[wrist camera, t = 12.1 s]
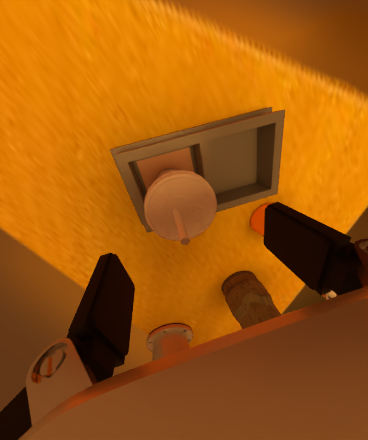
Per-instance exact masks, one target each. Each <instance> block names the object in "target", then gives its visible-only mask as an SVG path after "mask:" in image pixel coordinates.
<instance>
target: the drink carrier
mask: <svg viewBox="0 0 368 440" xmlns="http://www.w3.org/2000/svg"><path fill="white" fill-rule="evenodd" d="M284 116H285V110H280V111H275V112H272V107H269V108H265V109H261V110H257V111H254V112H250V113H246V114H242V115H238V116H235V117H231V118H227V119H223V120H220V121H216V122H212V123H208V124H204V125H201V126H197V127H193V128H189V129H185V130H182V131H178V132H174V133H170V134H167V135H163V136H159V137H155V138H151V139H148V140H144V141H140V142H136V143H132V144H129V145H125V146H121V147H117V148H114V149H110V151H111V153H112V156H113V158H114V160H115V163H116V165H117V167H118V170H119V172H120V174H121V177H122V179H123V181H124V183H125V186H126V188H127V190H128V193H129V195H130V197H131V200H132V202H133V204H134V207H135V209H136V211H137V214H138V216H139V218H140V220H141V223H142V225H144V226H145V229H146V231H147V233H148V232H151V231H153V230H152V229H151V228H150V226H149V225H148V223H147V221H146V218H145V212H144V202H145V196H146V194H147V191H148V189H149V188H150V186H151V185H152V184H153V183H154V181H156V180H157V177H158V175H159V174H160V172H161V171H163V170H164V169H167V168H173V169H176V170H179V171H181V170H184V171H190V172H194V173H196V174H198V175H200V176H201V177H203V178H204V179H205V180H206V181H207V182H208V183H209V185H210V186H211V187H212V189H213V191H214V193H215V196H216V200H217V209H216V212H218V211H221V210H225V209H228V208H232V207H235V206H238V205H242V204H245V203H248V202H252V201H255V200H258V199H262V198H265V197H268V196H272V195H275V194H277V193H278V182H279V171H280V160H281V149H282V138H283V127H284Z"/></svg>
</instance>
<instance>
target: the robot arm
mask: <svg viewBox="0 0 368 440" xmlns="http://www.w3.org/2000/svg"><path fill="white" fill-rule="evenodd" d="M350 239H351V237H349V236H347V235H345V234H343V233H341V232H339V231H337V230H335V229H333V228H331V227H329V226H327V225H325V224H323V223H321V222H318V221H316V220H314V219H312V218H310V217H308V216H306V215H304V214H302V213H300V212H298V211H296V210H294V209H292V208H290V207H288V206H286V205H284V204H282V203H279V202H276V203H272V204H269V205H267V208H265V217H264V245H265V247H266V248H267V249H268V250H270V251H271V252H272V253H273V254H274V255H275V256H276V257H277V258H278V259H279V260H280V261H281V262H282V263H284V264H285V265H286V266H287V267H288V268H289V269H290V270H291V271H292V272H293V273H294V274H295V275H296V276H298V277H299V278H300V279H301V280H302V281H303V282H304V283H305V284H306V285H307V286H308V287H309V288H311V289H312V290H316V291H317V292H318V293H319V294H320V295H323V294H326V293H329V292H331V290H332V291H333V292H335V293H336V297H333V298H330V299H327V300H325V301H322V302H319V303H316V304H313V305H310V306H307V307H304V308H301V309H299V310H296V311H293V312H290V313H287V314H285V315H281V316H278V317H276V318H273V319H270V320H267V321H264V322H261V323H259V324H256V325H253V326H250V327H247V328H244V329H242V330H239V331H236V332H233V333H230V334H227V335H225V336H222V337H219V338H216V339H213V340H210V341H208V342H205V343H202V344H199V345H197V346H194V347H191V348H189V343H190V341H191V340H192V338H193V333H192V330H191V328H190V327H188V326H186V325H183V324H171V325H166V326H163V327H160V328H158V329H156V330H155V331H153V332H152V333H151V334H150V335H149V336H148V338H147V348H148V349H149V350H150V351H152V352H153V361H152V362H149V363H147V364H144V365H141V366H139V367H136V368H134V369H131V370H128V371H126V372H123V373H120V374H118V375H115V376H112V375H113V371H114V368H115V367H118V366H121V365H123V364H124V360H125V355H127V354H128V350H129V341H130V331H131V330H130V329H131V321H132V312H133V302H134V292H135V287H134V284H133V282H132V280H131V278H130V277H129V275H128V273H127V272H126V270H125V268H124V267H123V265H122V263H121V261H120V260H119V258H118V256H117V255H116V254H114V255H113V253H108V254H105V255H102V256H100V258H99V260H98V263H97V265H96V267H95V270H94V272H93V274H92V277H91V279H90V281H89V284H88V286H87V288H86V291H85V293H84V295H83V298H82V300H81V302H80V305H79V307H78V309H77V312H76V314H75V317H74V319H73V321H72V323H71V326H70V328H69V333H68V335H67V337H66V338H62V339H58V340H57V341H55V342H53V343H51V344H50V345H49V346H48V347H46V348H45V349H44V350H43V351H42V352H41V353H40V354H39V356H38V357H37V358H36V360H35V361H34V363H33V364H32V366H31V367H30V369H29V372H28V374H27V377H26V387H25V388H24V389H23V390H22V391H21V392H20V393H19V394H18V395H17V396H16V397H15V398H14V399H13V400H12V401H11V402H10V403H9V404H8V405H7V406H6V407H5V408H4V409H3V410H2V411H1V412H0V440H368V238H367V239H366V238H365V239H359V240H357V241H355V243H354V244H352V243H350Z"/></svg>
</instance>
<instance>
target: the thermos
mask: <svg viewBox="0 0 368 440" xmlns="http://www.w3.org/2000/svg"><path fill="white" fill-rule="evenodd" d="M222 291H223V293H224V295H225V297H226V301H227V303H228V306H229V308H230V310H231V312H232V314H233V316H234V317H235V318H236V320H237V321H238V322H239V323H240V325H241V327H242V329H244V328H247V327H250V326H253V325H256V324H259V323H261V322H264V321H267V320H270V319H273V318H276V317H278V316H281V314H280V312H279V311H278V309H277V308H276V307H275V305H274V304H273V301H272V298H271V296H270V294H269V293H268V291H267V290H266V289H265V287H264V286H263V285H262V283H261V282H260V281H258V280H257V278H256V277H255V275H254V274H253V273H252V272H249V271H240V272H237V273H234V274H232V275H231V276H229V277H228V278H227V279H226V280H225V281H224V283H223V285H222Z"/></svg>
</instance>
